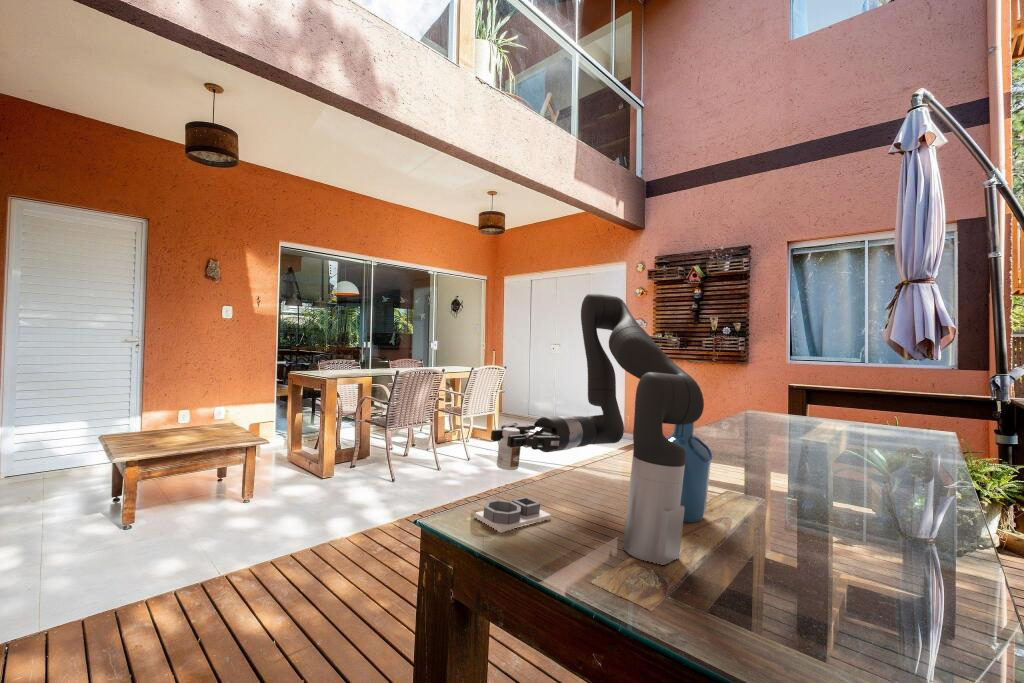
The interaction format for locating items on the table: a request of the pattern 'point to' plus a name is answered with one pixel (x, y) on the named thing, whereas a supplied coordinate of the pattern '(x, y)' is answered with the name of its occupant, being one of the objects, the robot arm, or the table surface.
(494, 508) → the socket board
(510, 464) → the pill bottle
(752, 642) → the table surface
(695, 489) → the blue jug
